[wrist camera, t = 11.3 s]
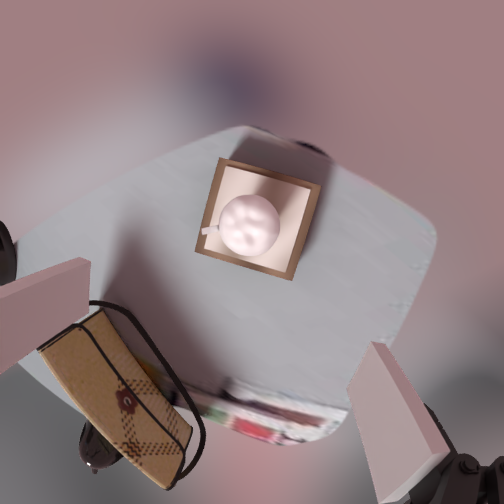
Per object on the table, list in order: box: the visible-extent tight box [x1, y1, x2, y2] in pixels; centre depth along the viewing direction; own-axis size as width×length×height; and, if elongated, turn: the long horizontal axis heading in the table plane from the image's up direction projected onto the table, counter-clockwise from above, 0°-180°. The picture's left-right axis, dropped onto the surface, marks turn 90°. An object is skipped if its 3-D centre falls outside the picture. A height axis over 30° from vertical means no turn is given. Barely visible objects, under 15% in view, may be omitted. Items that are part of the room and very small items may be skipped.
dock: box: [195, 157, 321, 281], centre depth 30 cm, size 11×10×4 cm
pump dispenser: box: [79, 419, 124, 474], centre depth 34 cm, size 10×10×15 cm
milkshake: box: [201, 195, 280, 256], centre depth 23 cm, size 4×5×10 cm
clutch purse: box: [36, 300, 206, 491], centre depth 31 cm, size 30×7×15 cm, turn 30°
